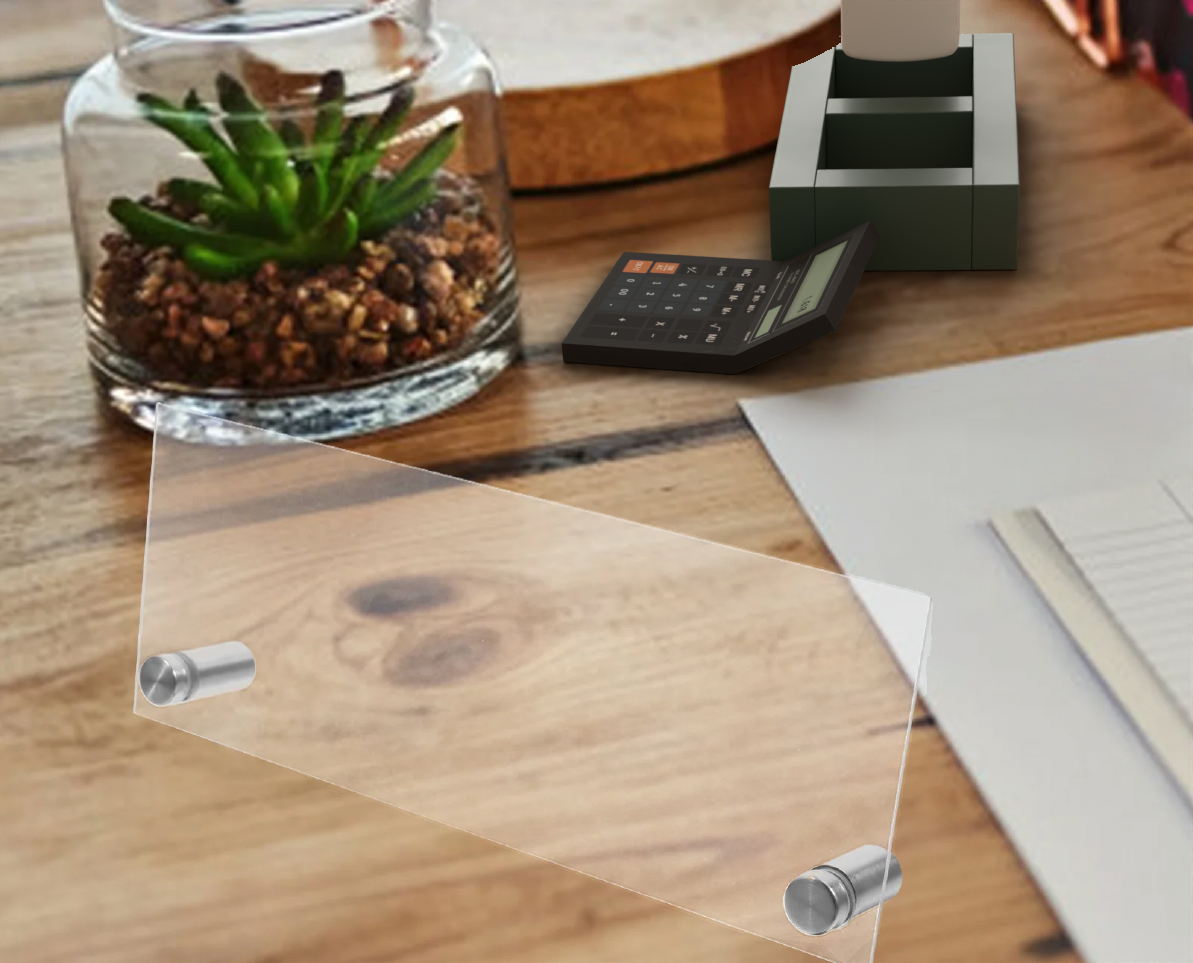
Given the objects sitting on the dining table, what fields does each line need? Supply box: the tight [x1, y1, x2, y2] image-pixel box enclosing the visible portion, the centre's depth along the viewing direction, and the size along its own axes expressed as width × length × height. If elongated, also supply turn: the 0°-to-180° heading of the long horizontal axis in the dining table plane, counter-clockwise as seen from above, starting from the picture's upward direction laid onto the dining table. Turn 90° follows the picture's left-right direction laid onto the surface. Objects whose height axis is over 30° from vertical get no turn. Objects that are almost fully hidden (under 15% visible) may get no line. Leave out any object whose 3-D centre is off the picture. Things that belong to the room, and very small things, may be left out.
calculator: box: [561, 221, 880, 375], centre depth 99 cm, size 9×12×3 cm
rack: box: [768, 32, 1021, 272], centre depth 110 cm, size 11×20×4 cm, turn 172°
